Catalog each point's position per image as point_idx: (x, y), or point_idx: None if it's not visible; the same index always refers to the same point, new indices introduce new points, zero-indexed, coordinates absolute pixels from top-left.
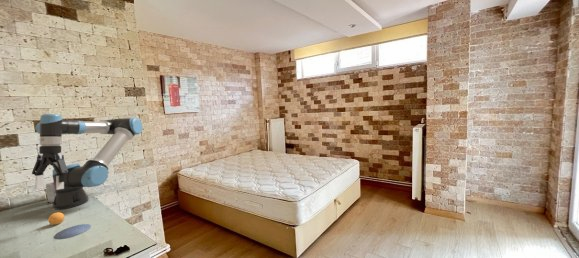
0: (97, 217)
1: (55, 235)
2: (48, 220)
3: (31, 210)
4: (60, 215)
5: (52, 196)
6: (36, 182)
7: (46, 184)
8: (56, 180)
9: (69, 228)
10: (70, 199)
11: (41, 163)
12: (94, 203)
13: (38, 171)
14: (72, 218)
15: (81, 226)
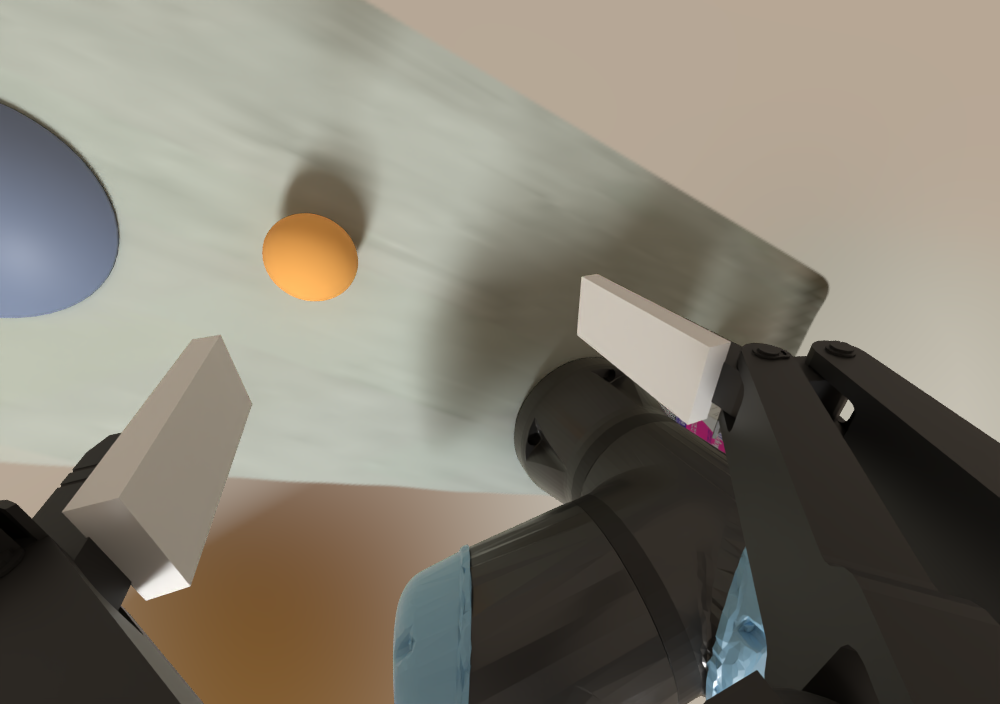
0: (138, 400)
1: (20, 120)
2: (313, 214)
3: (695, 309)
4: (269, 271)
5: (713, 408)
6: (635, 303)
7: None
8: (157, 422)
9: (84, 230)
10: (549, 428)
11: (929, 648)
12: (455, 478)
13: (761, 404)
14: (319, 331)
15: (23, 278)
